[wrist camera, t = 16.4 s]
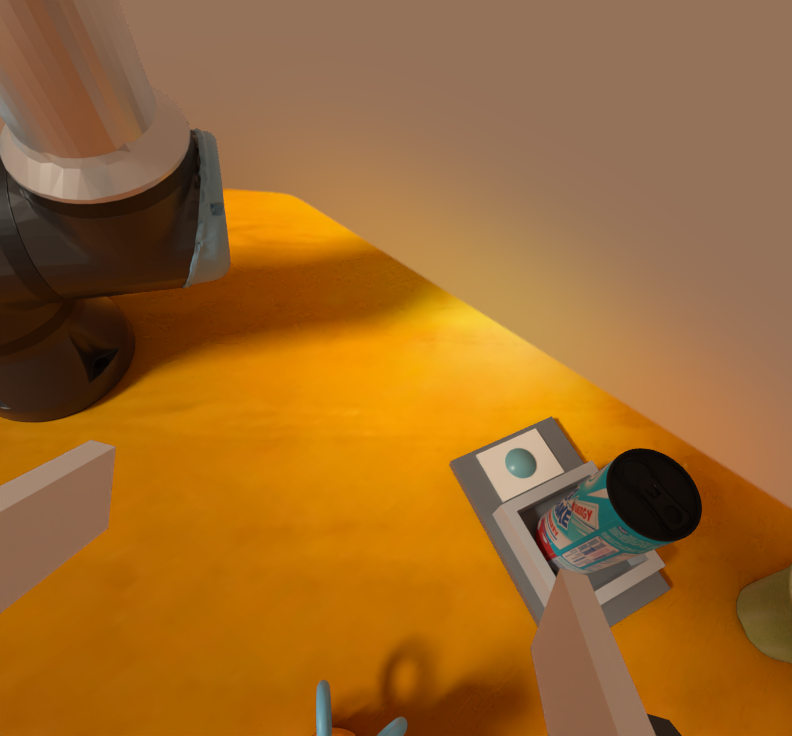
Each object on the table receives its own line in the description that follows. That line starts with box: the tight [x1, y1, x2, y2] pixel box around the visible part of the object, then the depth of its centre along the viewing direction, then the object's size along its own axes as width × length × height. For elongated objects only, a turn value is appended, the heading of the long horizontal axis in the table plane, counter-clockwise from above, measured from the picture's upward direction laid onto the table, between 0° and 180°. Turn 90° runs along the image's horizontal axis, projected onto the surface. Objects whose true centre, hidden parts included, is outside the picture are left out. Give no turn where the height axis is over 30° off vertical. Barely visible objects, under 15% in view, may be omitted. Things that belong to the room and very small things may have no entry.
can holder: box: [449, 417, 671, 627], centre depth 43 cm, size 18×12×4 cm, turn 26°
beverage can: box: [535, 448, 702, 575], centre depth 37 cm, size 6×6×15 cm
